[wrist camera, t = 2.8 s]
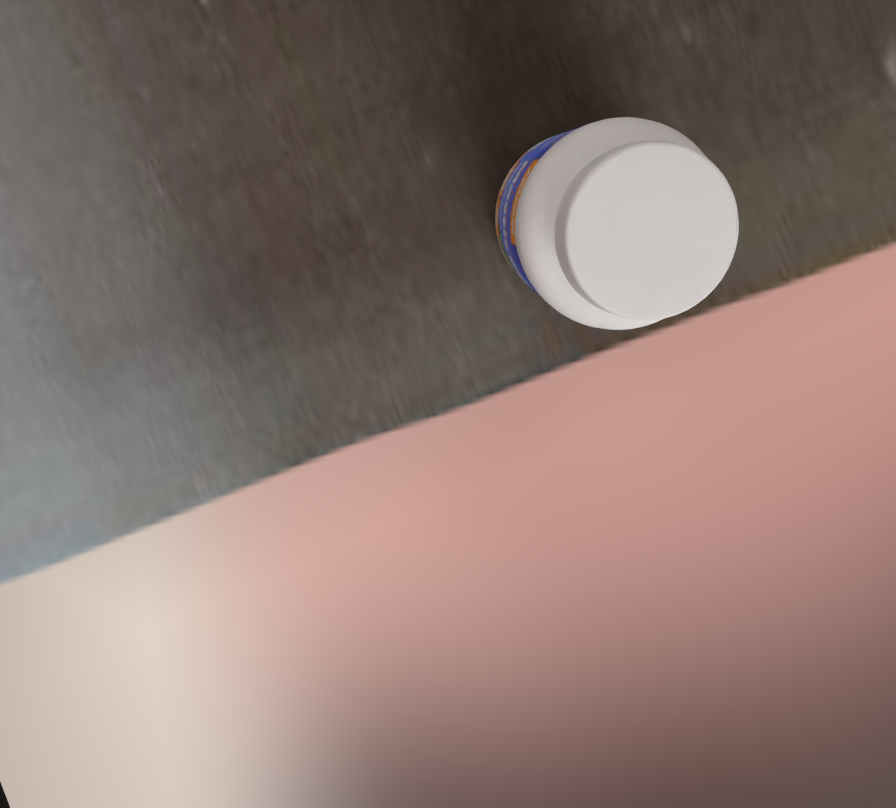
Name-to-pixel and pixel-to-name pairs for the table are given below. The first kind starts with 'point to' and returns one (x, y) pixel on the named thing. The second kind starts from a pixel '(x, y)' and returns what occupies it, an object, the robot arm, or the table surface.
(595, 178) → the pill bottle
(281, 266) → the table surface
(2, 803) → the robot arm
